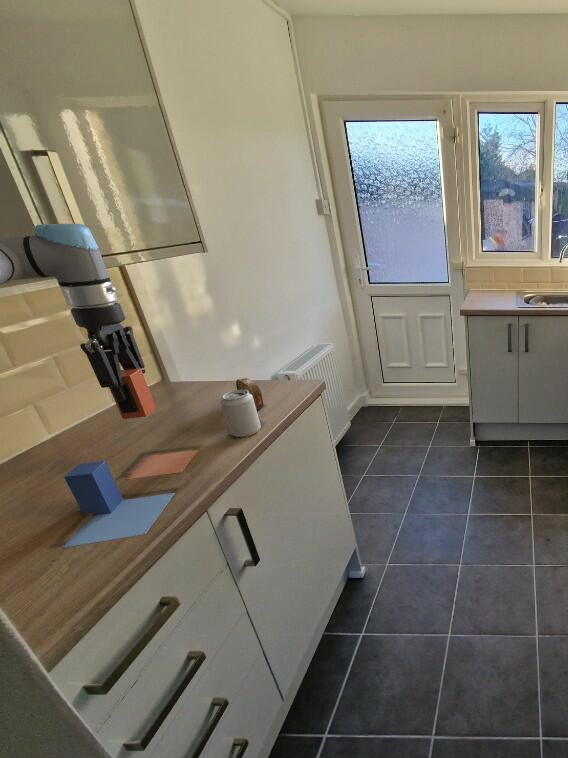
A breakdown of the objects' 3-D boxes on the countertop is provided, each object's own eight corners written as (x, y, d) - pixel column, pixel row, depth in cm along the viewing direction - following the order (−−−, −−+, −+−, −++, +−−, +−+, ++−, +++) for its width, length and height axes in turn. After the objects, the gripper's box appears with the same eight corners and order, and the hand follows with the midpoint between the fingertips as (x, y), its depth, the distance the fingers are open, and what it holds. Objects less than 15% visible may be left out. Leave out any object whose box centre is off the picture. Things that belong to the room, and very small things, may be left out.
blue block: (84, 517, 84) (63, 476, 80) (98, 503, 88) (78, 464, 84) (111, 513, 85) (91, 473, 81) (123, 499, 89) (105, 460, 85)
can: (267, 426, 119) (257, 389, 114) (248, 440, 112) (236, 400, 108) (245, 424, 120) (233, 387, 115) (224, 437, 114) (211, 398, 109)
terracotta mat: (122, 481, 96) (121, 480, 96) (144, 457, 105) (144, 456, 104) (182, 473, 99) (181, 471, 99) (199, 451, 108) (198, 449, 107)
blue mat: (56, 550, 77) (56, 548, 77) (99, 505, 88) (99, 503, 88) (145, 535, 80) (145, 534, 80) (176, 494, 92) (175, 492, 92)
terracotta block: (122, 419, 92) (104, 377, 88) (133, 410, 96) (117, 370, 92) (146, 416, 93) (129, 375, 89) (156, 407, 97) (140, 368, 93)
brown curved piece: (239, 400, 135) (232, 376, 131) (249, 397, 137) (243, 373, 134) (257, 414, 126) (250, 389, 123) (268, 411, 128) (261, 386, 125)
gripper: (89, 313, 77) (135, 422, 87) (139, 295, 93) (174, 389, 102) (39, 316, 76) (92, 427, 85) (99, 296, 91) (138, 392, 101)
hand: (136, 406), depth 94 cm, fingers closed on terracotta block, 4 cm apart
